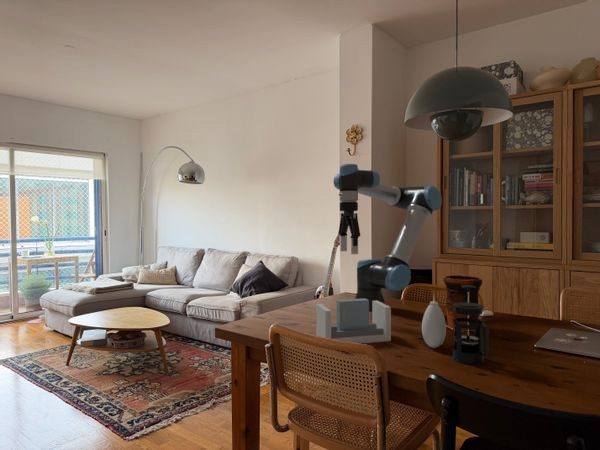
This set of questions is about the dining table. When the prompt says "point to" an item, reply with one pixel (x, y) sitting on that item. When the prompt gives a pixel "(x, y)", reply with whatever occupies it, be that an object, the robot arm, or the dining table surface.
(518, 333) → the dining table surface
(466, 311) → the french press
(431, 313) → the white air blower bulb
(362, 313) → the sliding door panel
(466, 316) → the vessel
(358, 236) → the robot arm
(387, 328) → the door track
